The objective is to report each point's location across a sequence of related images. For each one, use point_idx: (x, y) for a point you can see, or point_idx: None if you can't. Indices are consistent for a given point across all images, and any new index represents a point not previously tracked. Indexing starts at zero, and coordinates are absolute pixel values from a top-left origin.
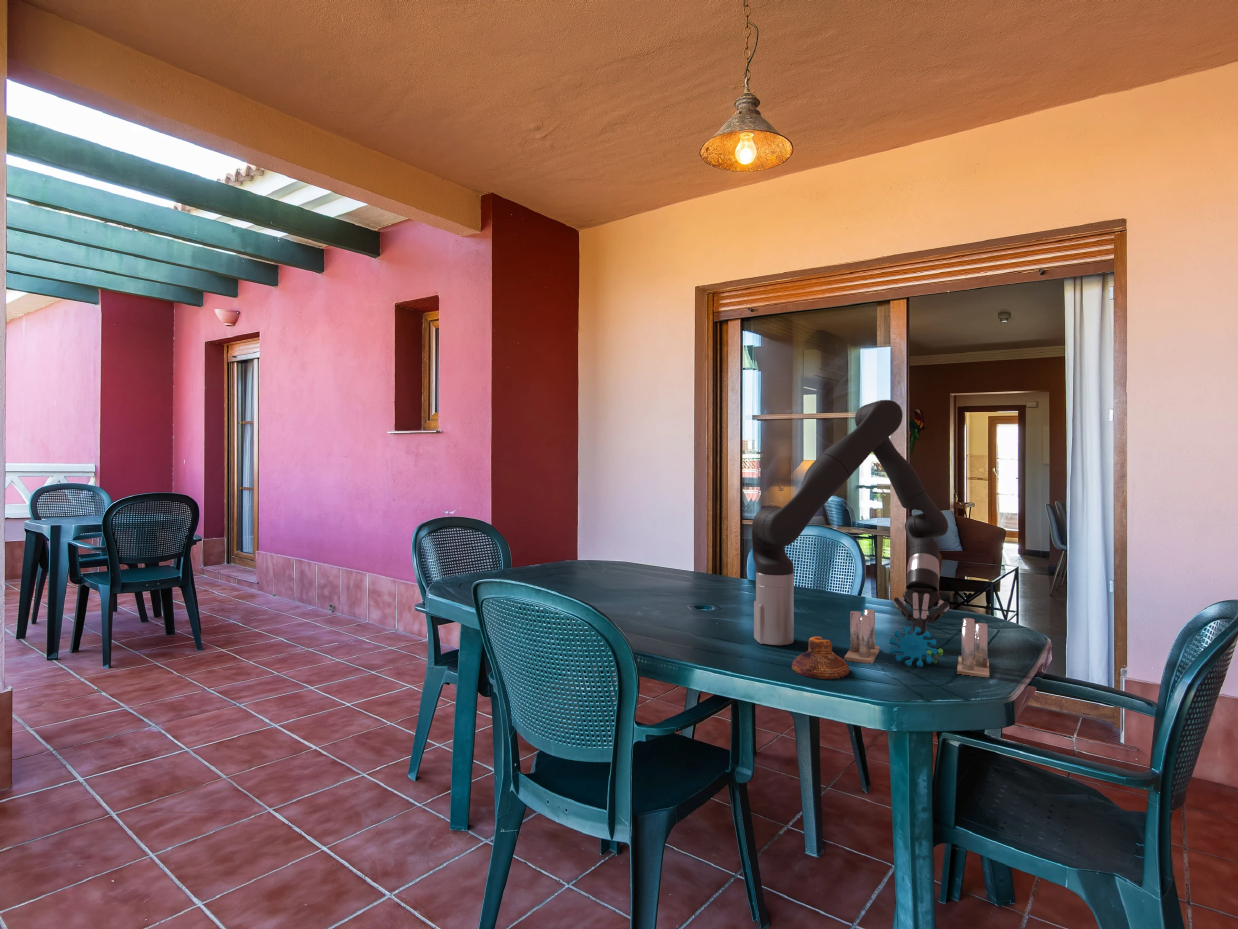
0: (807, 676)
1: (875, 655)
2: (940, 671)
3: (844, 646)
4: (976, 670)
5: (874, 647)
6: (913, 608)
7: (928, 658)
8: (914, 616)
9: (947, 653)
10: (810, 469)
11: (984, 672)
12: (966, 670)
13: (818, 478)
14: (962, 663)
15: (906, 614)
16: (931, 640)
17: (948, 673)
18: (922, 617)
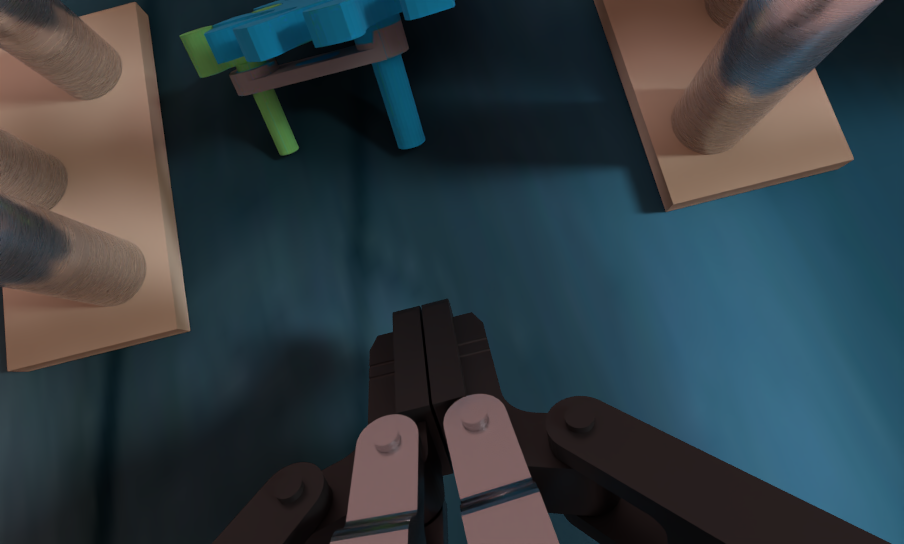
0: None
1: (603, 9)
2: (230, 17)
3: (893, 143)
4: None
5: (674, 115)
6: (530, 485)
7: (276, 2)
8: (493, 411)
9: (279, 434)
10: None
11: (10, 63)
12: None
13: None
14: (93, 31)
15: (593, 399)
16: (236, 25)
17: (189, 11)
18: (400, 429)
